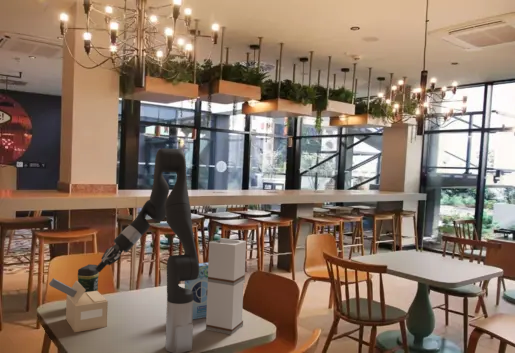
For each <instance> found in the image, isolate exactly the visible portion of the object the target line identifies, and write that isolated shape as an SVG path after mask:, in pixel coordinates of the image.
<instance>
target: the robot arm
mask: <svg viewBox="0 0 515 353" xmlns="http://www.w3.org/2000/svg"><path fill="white" fill-rule="evenodd" d="M186 159H187V158H186V154H185V152H184V150H183V149H180V148H160V149H158V150H157V152H156V155H155V160H154V169H153V181H152V182H153V183H152V189H151V191H150V192H151V193H150V196H149V199H148V200H146V201H145V203H144V204H143V206H142V207H141V210H140V211H139V213H138V215H137V217H135V219H134V220H133V221H132V222H131V223H130V224H129V225H128V226H126V227H125V228H124V229H123V230H122V231H121V232H120V233H119V234H118V235H117V236H116V237H115V238H114V239H113V243H114V245H113V246H111V247H110V248H107V249H106V250H105V252H104V253H103V255H102V256H101V261H100V262H99V263H98V264H96V265H97V266H96V268H95V269H96V270H97V271H98V272H99V273H101V271H103V269H105V268H106V266H110V265H112V264H114V263H115V262H117V261H119V260H120V259H121V254H122V253H123V252H124V253H128V252H129V251H130V250H131V249H132V248H133V246H134V245H135V244H137V243H138V241H139V240H140V239H141V237H142V236H143V235H144V234H145V233H146V232H147V231H148V230H149V229H150V227H151V225H150V223H149V222H148V220H147V219H146V217H147V216H148V217H149V218H151V219H152V220H153V221H155V222H158V223H159V222H162V221H163V220H164V219H165V220H166V222H167V225H168V226H169V228H170V229H171V230H172V232H173V233H174V235H175V236H176V237H177V238H178V239H179V241H180V243H181V244H182V247H183V250H184V253H183V254H173V255H170V256H169V257H168V259H167V261H166V316H165V317H166V318H165V347H164V348H165V351H167V352H168V353H186V352H191V351H193V331H194V329H193V328H194V325H193V320H194V319H193V292H192V291H191V290H189V289H186V288H185V287H181V286H180V283H179V282H185V281H188V280H195V279H197V277H198V275H199V263H200V262H199V257H198V256H199V255H198V253H197V248H196V243H195V237H194V229H193V220H192V212H191V211H192V210H191V203H190V197H189V189H188V181H187V161H186ZM163 173H176V174H175V175H176V179H175V183H174V186H173V188H172V190H171V191H170V186H169V184H168V182H167V180H166V178H165V176H164V175H163Z"/></svg>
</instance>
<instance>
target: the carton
mask: <svg viewBox="0 0 515 353" xmlns="http://www.w3.org/2000/svg"><path fill="white" fill-rule="evenodd" d="M108 302H109V301H108V300H107V299H106V298H105V297H104V296H103V295H102V294H101V293H100V292H99V290H98V291H91V292H84V293H83V295H82V296H81V298H80V299H79V301H78V302H77V304H76V305H75V304H74V303H73V301H72V300H71V299H70V298H69V296H68V295H67V294H66V306H65V307H66V308H65V320H66V321H67V323H68V324H69V326H70V328H71V330H72V331H73V333H78V332H80V333H81V332H84V331H89V330H95V329H100V328H106V327H107V326H108V304H109V303H108Z"/></svg>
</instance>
